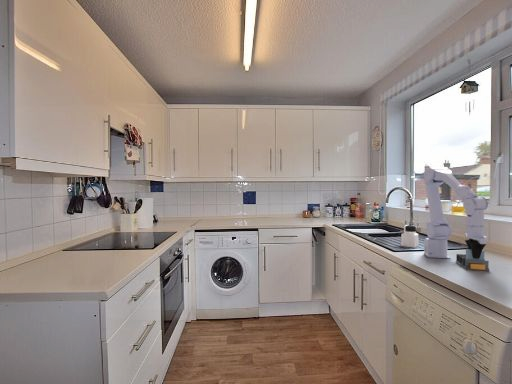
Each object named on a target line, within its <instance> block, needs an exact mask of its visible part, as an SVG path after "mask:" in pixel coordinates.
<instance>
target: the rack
mask: <svg viewBox="0 0 512 384" xmlns="http://www.w3.org/2000/svg"><path fill="white" fill-rule="evenodd" d="M489 262H490V261H489V260H486V258H484V260H468V259H466V253H464V254H462V253H456V259H455V263H456V264H457V265H459V266H461V267H462V268H463V269H464V270H466V271H467V270H469V271H481V272H482V271H485V272H486V271H487V272H490V268H489Z"/></svg>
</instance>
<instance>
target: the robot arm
mask: <svg viewBox="0 0 512 384" xmlns="http://www.w3.org/2000/svg"><path fill="white" fill-rule="evenodd" d="M423 180H424V185H425V191H426V197H427V203H428V210H429V217H430V219H429V220H428V221H427V222H426V223H425V234H426V235H427V237H425V238H424V242H423V243H424V244H423V247H424V249H423V254H424V255H425V256H426V257H427V258H432V259H434V258H435V259H451V256H449V255H448V240H449V239H450V237H451V236H452V232H453V231H452V228H451V226H450V223H449V221H448V220H447V219H445V218H444V214H443V208H442V202H441V195H440V194H441V193H440V190H439V187H440V186H441V185H443V184H446V185H448V186H449V187H450V188H451V189H453V191H454V193H453V194H454V196H456V197H457V198H458V199H459V200H460V201H461V202H462V206H463V209H464V211H465V214H466V232H465V233H464V237H465V239H464V242H465V244H466V246H467V249H471V250H472V256H473V258H476V259H479V258H480V256H481V252H482V250H484V248H485V247H486V246H487V239H488V236H486V235H485V210H487V209H488V208H489V202H488V200H487V199H486V198H485V197H484V196H479V195H478V194H477V193H475V192H474V191H473V190H472V189H471V187H470V186H469V185H466V184H465V185H464V184H461V183H460V182H459V181H458V179H457V178H456V177H455V176H454V175H453V172H452V170H451V169H450V168H449V167H446V166H445V167H444V166H443V167H431V166H429V167H427V168H426V169H425V170H424V172H423Z"/></svg>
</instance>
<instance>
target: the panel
mask: <svg viewBox="0 0 512 384" xmlns="http://www.w3.org/2000/svg"><path fill="white" fill-rule="evenodd" d="M465 254H466V259H468V260H484V259H485V250H484V249H483V250H482V252H481V256H480V258H479V259H476V258H473V256H472V250H471V249H469V248H465Z"/></svg>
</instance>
